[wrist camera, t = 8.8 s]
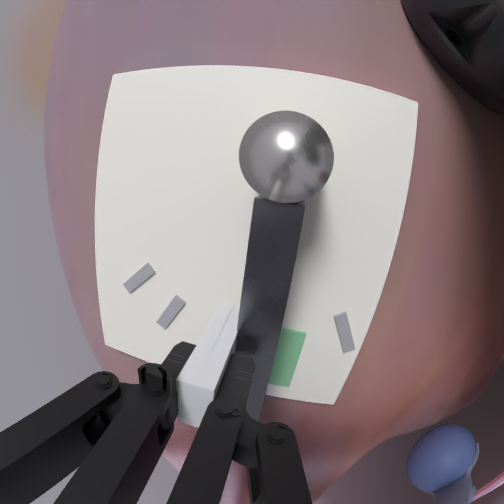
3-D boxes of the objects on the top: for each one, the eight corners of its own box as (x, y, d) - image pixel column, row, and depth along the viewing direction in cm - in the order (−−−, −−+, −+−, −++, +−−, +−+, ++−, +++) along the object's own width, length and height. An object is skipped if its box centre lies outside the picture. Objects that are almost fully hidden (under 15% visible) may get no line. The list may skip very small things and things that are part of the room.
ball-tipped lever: (260, 125, 13) (245, 106, 9) (327, 135, 13) (339, 119, 9) (226, 391, 19) (211, 433, 15) (272, 400, 19) (264, 444, 14)
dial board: (409, 107, 13) (419, 102, 11) (332, 392, 20) (333, 406, 18) (124, 79, 15) (111, 73, 14) (114, 336, 22) (104, 345, 20)
